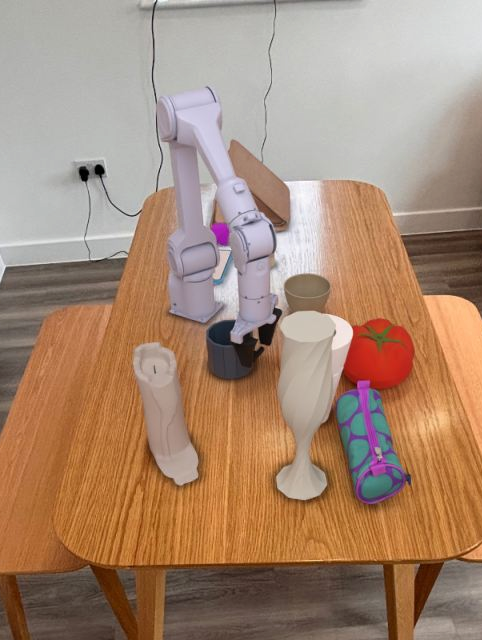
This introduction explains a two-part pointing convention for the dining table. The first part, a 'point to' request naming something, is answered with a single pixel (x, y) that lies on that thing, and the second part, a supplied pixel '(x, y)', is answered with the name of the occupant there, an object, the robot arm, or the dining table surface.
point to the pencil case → (369, 445)
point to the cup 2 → (339, 351)
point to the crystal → (221, 233)
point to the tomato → (379, 354)
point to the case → (258, 188)
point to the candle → (164, 412)
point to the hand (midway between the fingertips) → (256, 354)
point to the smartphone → (222, 266)
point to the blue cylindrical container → (226, 352)
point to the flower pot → (307, 292)
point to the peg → (272, 260)
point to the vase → (305, 395)
